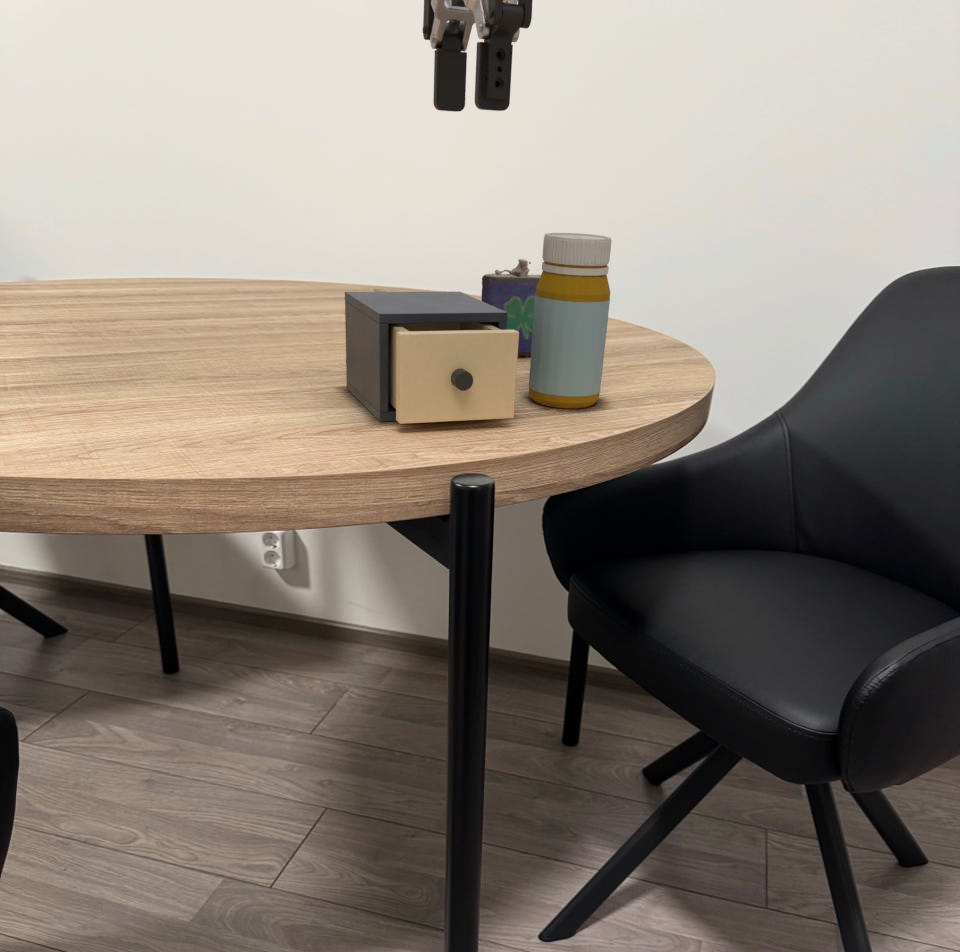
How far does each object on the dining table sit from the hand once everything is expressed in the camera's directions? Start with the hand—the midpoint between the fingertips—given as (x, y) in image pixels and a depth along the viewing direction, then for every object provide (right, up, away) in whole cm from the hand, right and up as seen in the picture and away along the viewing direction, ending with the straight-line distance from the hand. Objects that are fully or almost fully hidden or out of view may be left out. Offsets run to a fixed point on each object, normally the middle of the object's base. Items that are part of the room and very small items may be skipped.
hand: (469, 110), depth 65 cm
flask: (+5, -3, +47) cm, 47 cm away
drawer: (-3, -16, +20) cm, 25 cm away
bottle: (+9, -13, +28) cm, 32 cm away
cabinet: (-5, -14, +25) cm, 29 cm away
